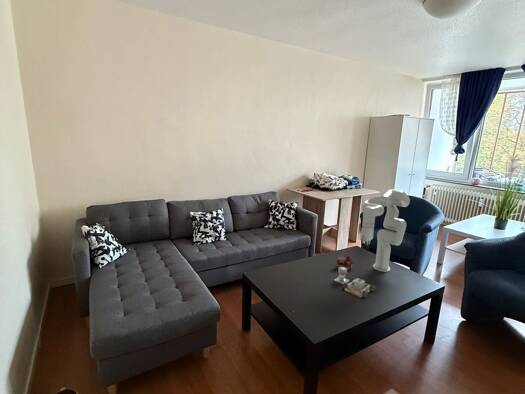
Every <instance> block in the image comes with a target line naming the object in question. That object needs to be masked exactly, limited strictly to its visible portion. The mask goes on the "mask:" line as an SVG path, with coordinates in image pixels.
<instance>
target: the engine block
mask: <svg viewBox="0 0 525 394" xmlns="http://www.w3.org/2000/svg"><path fill="white" fill-rule="evenodd" d="M365 283H366V280H365V279H361V278H358V277H357V278H356V280H355V281H354V287H356V288H359V289H361V290H363V289H364V285H365Z"/></svg>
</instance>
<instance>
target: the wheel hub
mask: <svg viewBox="0 0 525 394" xmlns="http://www.w3.org/2000/svg"><path fill="white" fill-rule="evenodd" d="M337 269H338V271H337V273H338V274H342V275H345V276H346V275H347V274H348V270H347V268H345V267H339V266H338V268H337Z"/></svg>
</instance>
